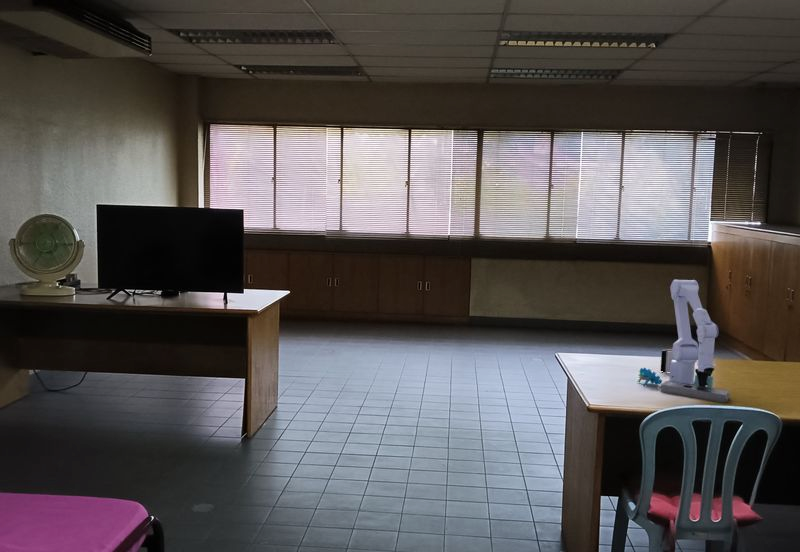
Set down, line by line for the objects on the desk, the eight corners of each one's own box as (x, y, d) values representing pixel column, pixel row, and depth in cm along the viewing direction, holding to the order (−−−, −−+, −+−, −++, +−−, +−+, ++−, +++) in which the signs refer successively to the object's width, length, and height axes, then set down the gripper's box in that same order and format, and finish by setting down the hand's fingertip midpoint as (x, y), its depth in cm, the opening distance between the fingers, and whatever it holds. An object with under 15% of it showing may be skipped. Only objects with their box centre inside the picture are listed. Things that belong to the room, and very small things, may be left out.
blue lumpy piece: (667, 383, 284) (653, 367, 281) (659, 394, 282) (645, 378, 280) (648, 380, 294) (635, 365, 292) (641, 391, 292) (627, 375, 290)
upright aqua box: (694, 389, 281) (695, 375, 281) (695, 388, 284) (696, 374, 283) (710, 392, 277) (711, 378, 277) (712, 391, 280) (713, 376, 279)
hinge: (671, 367, 322) (673, 346, 321) (682, 370, 318) (684, 348, 317) (658, 372, 312) (660, 350, 311) (670, 374, 308) (672, 352, 307)
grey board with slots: (660, 391, 277) (661, 384, 276) (666, 387, 283) (666, 380, 283) (724, 402, 262) (725, 395, 262) (729, 398, 269) (729, 391, 269)
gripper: (712, 357, 271) (710, 391, 272) (720, 352, 283) (718, 384, 284) (693, 354, 275) (691, 387, 276) (702, 349, 287) (700, 381, 288)
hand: (703, 385), depth 280 cm, fingers open, 4 cm apart
